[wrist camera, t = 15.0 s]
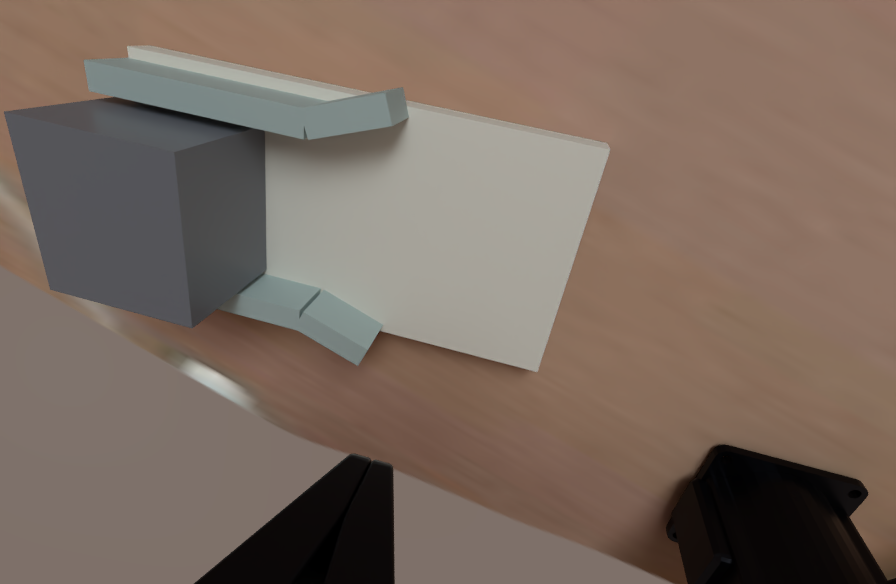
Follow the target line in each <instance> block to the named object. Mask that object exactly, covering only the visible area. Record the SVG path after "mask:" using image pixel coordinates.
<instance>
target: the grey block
mask: <svg viewBox="0 0 896 584" xmlns="http://www.w3.org/2000/svg"><path fill="white" fill-rule="evenodd" d="M4 114H5V118H6V122H7V126H8V129H9V133H10V137H11V141H12V145H13V148H14V152H15V156H16V160H17V164H18V168H19V171H20V175H21V179H22V183H23V187H24V191H25V194H26V198H27V202H28V206H29V210H30V214H31V217H32V221H33V225H34V229H35V233H36V236H37V240H38V244H39V248H40V252H41V256H42V259H43V263H44V267H45V271H46V275H47V279H48V282H49V286H50V290H54V291H58V292H61V293H65V294H69V295H72V296H76V297H79V298H83V299H87V300H90V301H94V302H98V303H101V304H105V305H109V306H112V307H116V308H120V309H123V310H127V311H131V312H134V313H138V314H142V315H145V316H149V317H153V318H156V319H160V320H164V321H167V322H171V323H174V324H178V325H182V326H185V327H189V328H193V327H195V326H196V325H197V324H198V323H200V322H201V321H202V320H203V319H205V318H206V317H207V316H209V315H210V314H211V313H212V312H214V311H215V310H216V309H217V308H219V307H220V306H221V305H222V304H224V303H225V302H226V301H228V300H229V299H230V298H231V297H233V296H234V295H235V294H236V293H238V292H239V291H240V290H241V289H243V288H244V287H245V286H247V285H248V284H249V283H250V282H252V281H253V280H254V279H255V278H257V277H258V276H259V275H260V274H262V273H263V272H264V271H266V270H267V259H266V174H265V131H264V130H260V129H255V128H251V127H246V126H242V125H237V124H233V123H229V122H224V121H220V120H215V119H211V118H206V117H202V116H198V115H193V114H189V113H184V112H180V111H175V110H171V109H167V108H162V107H158V106H153V105H149V104H145V103H140V102H136V101H131V100H127V99H122V98H118V97H111V98H104V99H96V100H89V101H81V102H73V103H66V104H58V105H51V106H43V107H36V108H28V109H20V110H13V111H5V112H4Z"/></svg>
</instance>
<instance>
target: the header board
mask: <svg viewBox="0 0 896 584" xmlns="http://www.w3.org/2000/svg"><path fill="white" fill-rule="evenodd" d="M127 49H128V56H129V58H113V59H91V60H84V65H85V71H86V76H87V82H88V87H89V91H91V92H96V93H100V94H105V95H109V96H114V97H118V98H122V99H127V100H131V101H136V102H140V103H145V104H149V105H153V106H158V107H162V108H167V109H171V110H175V111H180V112H184V113H189V114H193V115H198V116H202V117H206V118H211V119H215V120H220V121H224V122H229V123H233V124H237V125H242V126H246V127H251V128H255V129H260V130H264V131H265V174H266V259H267V270H266V271H264V272H263V273H262V274H260V275H259V276H258V277H257V278H255V279H254V280H253V281H252V282H250V283H249V284H248V285H247V286H245V287H244V288H243V289H241V290H240V291H239V292H238V293H236V294H235V295H234V296H233V297H231V298H230V299H229V300H228V301H226V302H225V303H224V304H222V305H221V306H220V307H219V308H217V309H219V310H222V311H226V312H230V313H234V314H237V315H241V316H245V317H249V318H253V319H256V320H260V321H264V322H268V323H271V324H275V325H279V326H283V327H286V328H290V329H294V330H298V331H299V332H301V333H303V334H304V335H306V336H308V337H309V338H311V339H313V340H315V341H316V342H318V343H320V344H321V345H323V346H325V347H326V348H328V349H330V350H332V351H333V352H335V353H337V354H338V355H340V356H342V357H343V358H345V359H347V360H349V361H350V362H352V363H354V364H355V365H357V366H358V365H359V363H360V362H361V360H362V359H363V357H364V355H365V354H366V352H367V350H368V349H369V347H370V346H371V344H372V342H373V341H374V339H375V337H376V336H377V334H378V333H379V331H382V332H386V333H390V334H394V335H398V336H401V337H405V338H409V339H413V340H417V341H420V342H424V343H428V344H432V345H436V346H440V347H443V348H447V349H451V350H455V351H459V352H463V353H466V354H470V355H474V356H478V357H482V358H485V359H489V360H493V361H497V362H501V363H505V364H508V365H512V366H516V367H520V368H524V369H527V370H531V371H535V372H537V371H538V368H539V365H540V362H541V359H542V356H543V353H544V350H545V347H546V344H547V341H548V338H549V335H550V332H551V329H552V326H553V323H554V320H555V317H556V314H557V311H558V307H559V304H560V301H561V298H562V295H563V292H564V289H565V286H566V283H567V280H568V277H569V274H570V271H571V268H572V265H573V262H574V259H575V256H576V253H577V250H578V247H579V244H580V240H581V237H582V234H583V231H584V228H585V225H586V222H587V219H588V216H589V213H590V210H591V207H592V204H593V201H594V198H595V195H596V192H597V189H598V186H599V183H600V180H601V177H602V173H603V170H604V167H605V164H606V161H607V158H608V155H609V152H610V148H609V146H608V144H607V143H605V142H600V141H595V140H590V139H586V138H581V137H576V136H572V135H567V134H562V133H558V132H553V131H548V130H544V129H539V128H534V127H530V126H525V125H520V124H516V123H511V122H506V121H501V120H497V119H492V118H487V117H483V116H478V115H473V114H469V113H464V112H459V111H455V110H450V109H445V108H441V107H436V106H431V105H426V104H422V103H417V102H412V101H408V100H406V99H405V94H404V89H403V87H401V88H396V89H391V90H385V91H380V92H374V93H370V92H366V91H361V90H356V89H352V88H347V87H342V86H337V85H333V84H328V83H323V82H319V81H314V80H309V79H305V78H300V77H295V76H291V75H286V74H281V73H277V72H272V71H267V70H263V69H258V68H253V67H248V66H244V65H239V64H234V63H230V62H225V61H220V60H216V59H211V58H206V57H202V56H197V55H192V54H188V53H183V52H178V51H173V50H169V49H164V48H159V47H155V46H127Z"/></svg>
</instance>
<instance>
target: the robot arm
mask: <svg viewBox="0 0 896 584" xmlns="http://www.w3.org/2000/svg"><path fill="white" fill-rule="evenodd" d="M726 455H727V456H728V457H723V456H726ZM393 495H394V494H393V466H392V465H391V464H389V463H386V462H382V461H379V460H373V461H371V459H370V458H368V457H365V456H361V455H358V454H350V455H349V456H347V457H346V458H345V459H344V460H343V461H341V462H340V463H339V464H338V465H336V466H335V467H334V468H333V469H331V470H330V471H329V472H328V473H327V474H325V475H324V476H323V477H322V478H321V479H320V480H318V481H317V482H316V483H315V484H313V485H312V486H311V487H310V488H309V489H307V490H306V491H305V492H304V493H303V494H301V495H300V496H299V497H298V498H297V499H295V500H294V501H293V502H292V503H291V504H289V505H288V506H287V507H286V508H285V509H283V510H282V511H281V512H280V513H279V514H277V515H276V516H275V517H274V518H272V520H270V521H269V522H268V523H266V524H265V525H264V526H263V527H262V528H260V529H259V530H258V531H257V532H256V533H254V534H253V535H252V536H251V537H250V538H248V539H247V540H246V541H245V542H244V543H242V544H241V545H240V546H239V547H237V548H236V549H235V550H234V551H233V552H231V553H230V554H229V555H228V556H227V557H225V558H224V559H223V560H222V561H221V562H219V563H218V564H217V565H216V566H215V567H213V568H212V569H211V570H210V571H209V572H207V573H206V574H205V575H204V576H203V577H201V578H200V579H199V580H198V581H197V582H195V583H194V584H395V580H394V496H393ZM867 496H868V491H867V489H866V488H865V486H864V485H863V483H862V482H861V481H859V480H857V479H853V478H849V477H846V476H842V475H838V474H834V473H831V472H827V471H823V470H819V469H816V468H812V467H808V466H804V465H801V464H797V463H793V462H789V461H786V460H782V459H778V458H774V457H771V456H767V455H763V454H759V453H756V452H752V451H748V450H744V449H741V448H737V447H733V446H729V445H720V446H717V447H715V448H714V449H713V451H712V452H711V454H710V455H709V457H708V459H707V460H706V462H705V464H704V465H703V467H702V469H701V470H700V472H699V473H698V475H697V477H696V478H695V479H694V480H692V481H691V482H690V484H689V485H688V487H687V489H686V490H685V492H684V494H683V495H682V497H681V499H680V500H679V502H678V503H677V505H676V507H675V508H674V510H673V512H672V518H671V519H670V521H669V522H668V524H667V526H666V531H667V536H668V538H669V539H670V540H672V541H674V542H678V544H679V548H680V553H681V557H682V561H683V565H684V570H685V574H686V578H687V582H688V584H896V578H894V579H891V580H887V579H886V577H885V575H884V574H883V572H882V570H881V569H880V567H879V565H878V564H877V562H876V560H875V559H874V557H873V556H872V554H871V552H870V551H869V549H868V547H867V546H866V544H865V542H864V541H863V539H862V537H861V536H860V534H859V532H858V531H857V529H856V527H855V526H854V524H853V522H852V521H851V519H850V518H849V517H850V515H851V514H852V513H853V512H854V511H855V510H856V509H857V508H858V506H859V505H860V504H861V503H862V502H863V501H864V500H865V499H866V497H867Z"/></svg>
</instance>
